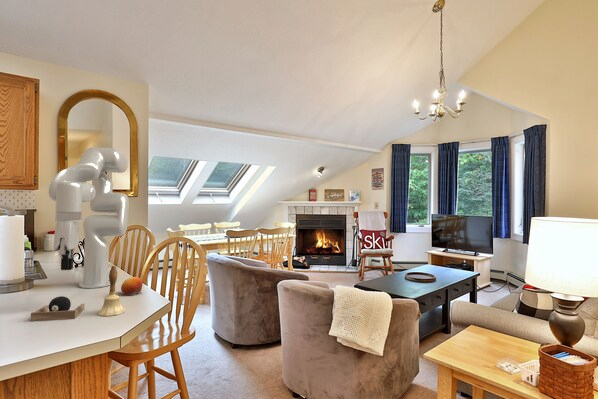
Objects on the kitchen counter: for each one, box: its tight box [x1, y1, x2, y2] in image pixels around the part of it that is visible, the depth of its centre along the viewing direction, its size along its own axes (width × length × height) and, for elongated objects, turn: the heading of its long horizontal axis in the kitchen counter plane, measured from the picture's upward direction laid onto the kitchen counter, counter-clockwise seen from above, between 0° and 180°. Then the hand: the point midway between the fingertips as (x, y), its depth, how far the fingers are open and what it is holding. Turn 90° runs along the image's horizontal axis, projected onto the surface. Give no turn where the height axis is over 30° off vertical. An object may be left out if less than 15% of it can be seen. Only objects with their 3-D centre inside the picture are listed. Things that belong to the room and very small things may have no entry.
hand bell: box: [97, 265, 126, 317], centre depth 117 cm, size 8×8×16 cm
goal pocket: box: [30, 303, 86, 322], centre depth 112 cm, size 10×12×2 cm
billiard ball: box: [48, 295, 72, 311], centre depth 113 cm, size 6×6×6 cm
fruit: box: [120, 276, 143, 296], centre depth 140 cm, size 8×8×8 cm
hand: (66, 269), depth 118 cm, fingers closed
